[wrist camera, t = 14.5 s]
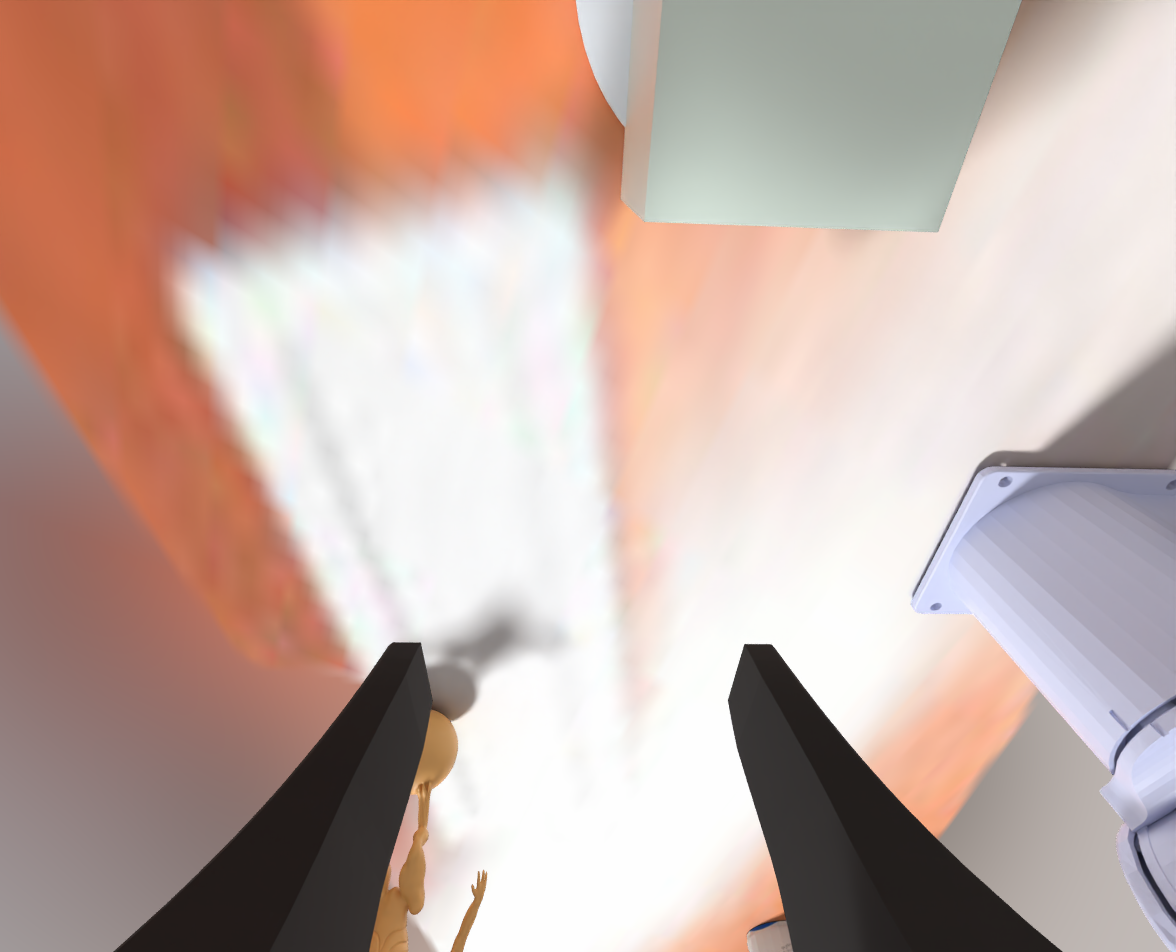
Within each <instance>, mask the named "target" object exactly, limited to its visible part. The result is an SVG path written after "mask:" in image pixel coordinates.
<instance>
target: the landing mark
mask: <svg viewBox="0 0 1176 952" xmlns="http://www.w3.org/2000/svg"><path fill="white" fill-rule="evenodd" d="M576 5H577V13H578V21H579V26H580V30H581V34H582V38H583V43H584V47H585V51H586V54H587V57H588V60H589V62H590V65H591V68H592V71H593V74H594V77H595V79H596V81H597V83H598V85H599V87H600V89H601V91H602V93H603V95H604V97H605V99H606V101H607V103H608V104H609V106H610V107H611V109H612V110H613V112H614V113H615V115H616V116H617V118H618V120H619V121H620V122H621V123H622V124H623V126H624V127H626V111H627V94H628V78H629V61H630V45H631V28H632V12H633V0H576Z"/></svg>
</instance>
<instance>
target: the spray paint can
mask: <svg viewBox="0 0 1176 952" xmlns="http://www.w3.org/2000/svg"><path fill="white" fill-rule="evenodd" d="M747 945H748V949H749V952H793V949H792V944H791V940H790V935H789V931H788V926H787V922H786V921H776V922H771V923H766V924H763V925H760V926H757V927H755V928H753V929H752V930H750V931H749V932H748V934H747Z"/></svg>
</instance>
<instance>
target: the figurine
mask: <svg viewBox="0 0 1176 952" xmlns="http://www.w3.org/2000/svg"><path fill="white" fill-rule="evenodd" d="M457 751H458V740H457V735H456V731H455V729H454V727H453V725H452V723H451V722H450V721H449V720H448V719H447V718H446V717H445V716H444V715H443V714H441V713H439V712H437V711H434V710H431V712H430V718H429V723H428V728H427V734H426V739H425V744H424V749H423V752H422V756H421V759H420V763H419V766H418V769H417V773H416V776H415V780H414V783H413V786H412V790H411V793H410V794H412V795H413V794H417V795H418V798H419V814H418V830H417V831H416V832H415V834H414V836H413V845H412V847H411V849H410V851H409V854H408V857H407V860H406V862H405V864H404V865H403V867H402V869H401V872H400V875H399V887H394V888H392V889H391V890H388V886H389V882H390V877H391V866H390V864H389V867H388V870H387V874H386V878H385V882H384V885H383V889H382V894H381V898H380V903H379V908H378V912H377V917H376V922H375V926H374V931H373V936H372V940H371V945H370V950H369V952H408V943H407V941H408V934H407V929H406V926H407V912H408V909H409V911H410V913H411V914H413V915H416V914H418V913H419V912H420V911H421V909H422V908H423V905H424V898H425V891H424V877H425V869H426V864H425V857H424V852H423V849H422V846H423V845H424V844H425V843H426V841H427V840H428V836H429V834H428V830H427V829H426V828H427V823H428V812H429V800H430V793H431V790H432V789H433V788H435V787H436V786H438V785H439V784H440V783H441V782H442V781H443V780H444V779H445V778H446V777H447V776H448V774H449V773H450V771H451V769H452V767H453V765H454V763H455V760H456V757H457ZM484 878H485V880H484ZM486 881H487V872H486V874H485V872H484V870H483V873H482V879H481V882H480V872H479V871H478V879H477V888H476V889H474V886H473V884H472V886H471V887H472V893H473V895H474V897H475V899H474V901H473V902H472V904H471V905H470V907H469V909H468V910H467V912H466V914H465V917H464V919H463V921H462V924H461V927H460V930H459V933H458V935H457V937H456V939H455V941H454V944H453V947H452V950H451V952H463V949H464V945H465V942H466V939H467V936H468V934H469V932H470V929H471V927H472V925H473V923H474V920H475V918H476V915H477V911H478V908H479V906H480V904H481V901H482V899H483V895H484V891H485V888H486Z"/></svg>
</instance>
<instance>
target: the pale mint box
mask: <svg viewBox="0 0 1176 952" xmlns="http://www.w3.org/2000/svg"><path fill="white" fill-rule="evenodd" d="M1021 1H1022V0H633V12H632V28H631V45H630V61H629V78H628V94H627V111H626V127H625V134H624V151H623V167H622V184H621V200H622V201H623V202H624V203H625V204H626V205H627V206H628V207H629V208H630V209H631V210H632V211H633V212H634V213H635V214H636V215H638V216H639V217H640V218H641V219H642V220H643V221H644V222H666V223H693V224H721V225H749V226H777V227H804V228H832V229H860V230H888V231H915V232H938V231H939V228H940V225H941V223H942V220H943V217H944V214H945V212H946V209H947V206H948V203H949V201H950V198H951V195H952V192H953V190H954V187H955V184H956V181H957V178H958V176H959V173H960V170H961V167H962V165H963V162H964V159H965V156H966V154H967V151H968V148H969V145H970V143H971V140H972V137H973V134H974V131H975V129H976V126H977V123H978V120H979V118H980V115H981V112H982V109H983V107H984V104H985V101H986V98H987V95H988V93H989V90H990V87H991V84H992V82H993V79H994V76H995V73H996V71H997V68H998V65H999V62H1000V60H1001V57H1002V54H1003V51H1004V48H1005V46H1006V43H1007V40H1008V37H1009V35H1010V32H1011V29H1012V26H1013V24H1014V21H1015V18H1016V15H1017V12H1018V10H1019V7H1020V4H1021Z"/></svg>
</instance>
